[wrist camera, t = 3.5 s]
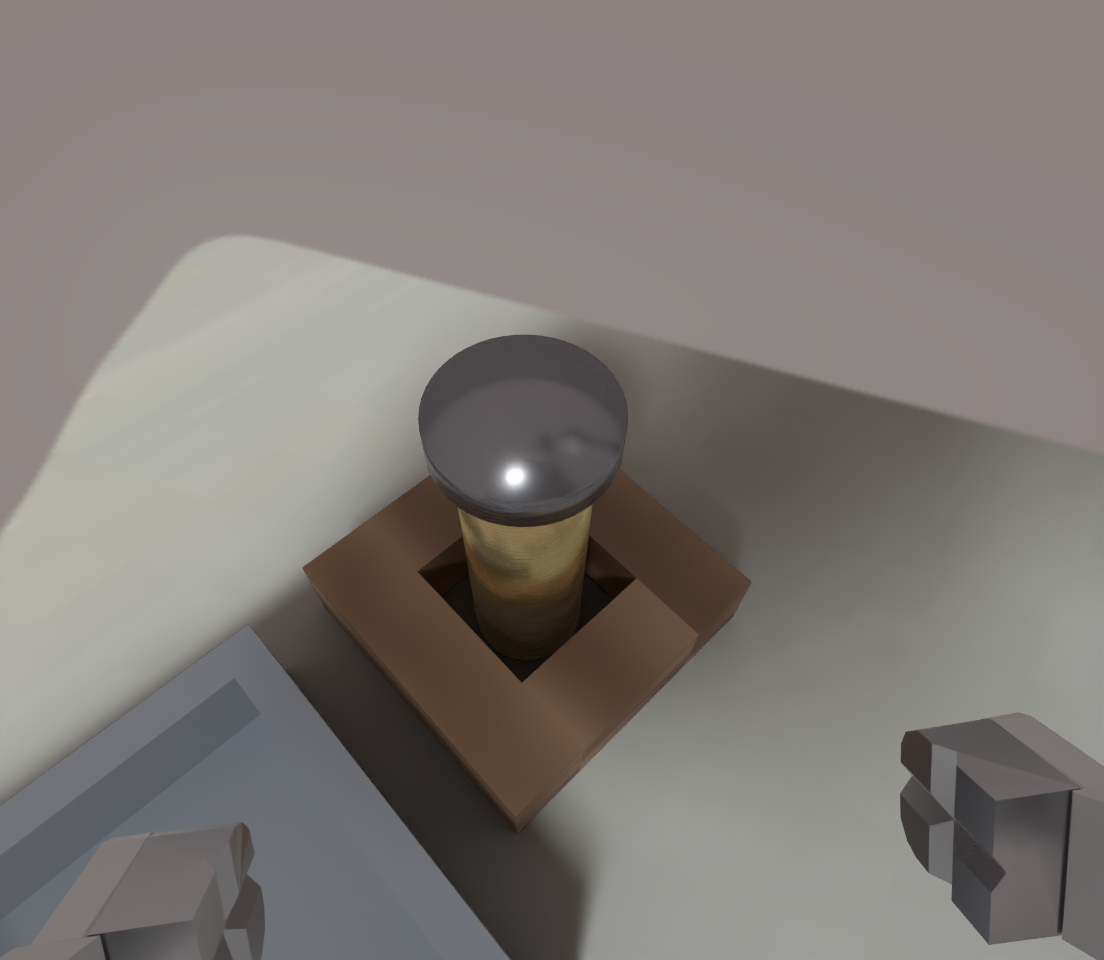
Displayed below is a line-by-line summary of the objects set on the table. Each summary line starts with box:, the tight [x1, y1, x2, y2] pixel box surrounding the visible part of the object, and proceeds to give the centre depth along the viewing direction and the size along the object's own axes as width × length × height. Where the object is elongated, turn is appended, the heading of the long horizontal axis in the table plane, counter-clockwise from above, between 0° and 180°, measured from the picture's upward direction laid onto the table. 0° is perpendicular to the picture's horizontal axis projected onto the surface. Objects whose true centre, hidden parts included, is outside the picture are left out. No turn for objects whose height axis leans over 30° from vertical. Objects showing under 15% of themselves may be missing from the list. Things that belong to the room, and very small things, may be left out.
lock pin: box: [418, 335, 628, 660], centre depth 20 cm, size 4×4×10 cm
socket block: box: [303, 470, 751, 833], centre depth 23 cm, size 9×9×2 cm
